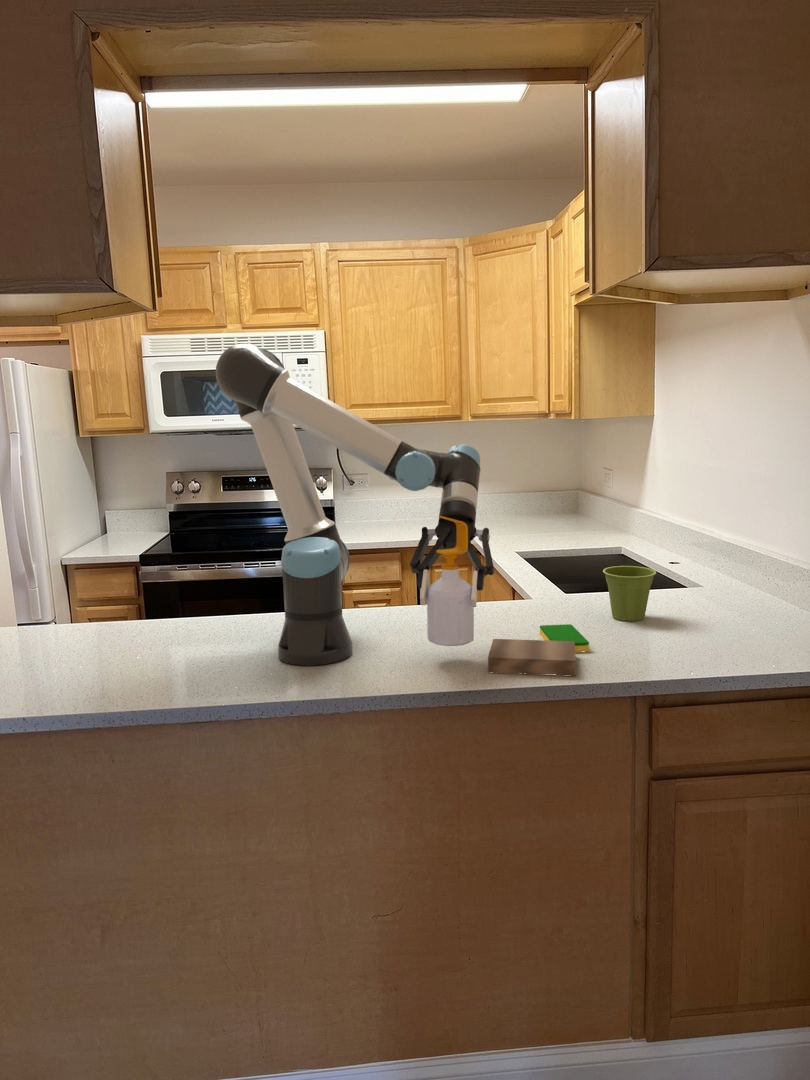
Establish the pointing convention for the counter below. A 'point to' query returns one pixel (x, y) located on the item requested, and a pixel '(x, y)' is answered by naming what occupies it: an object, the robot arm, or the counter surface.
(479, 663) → the counter surface
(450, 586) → the soap bottle
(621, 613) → the plant pot
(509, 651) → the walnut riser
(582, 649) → the dish sponge
